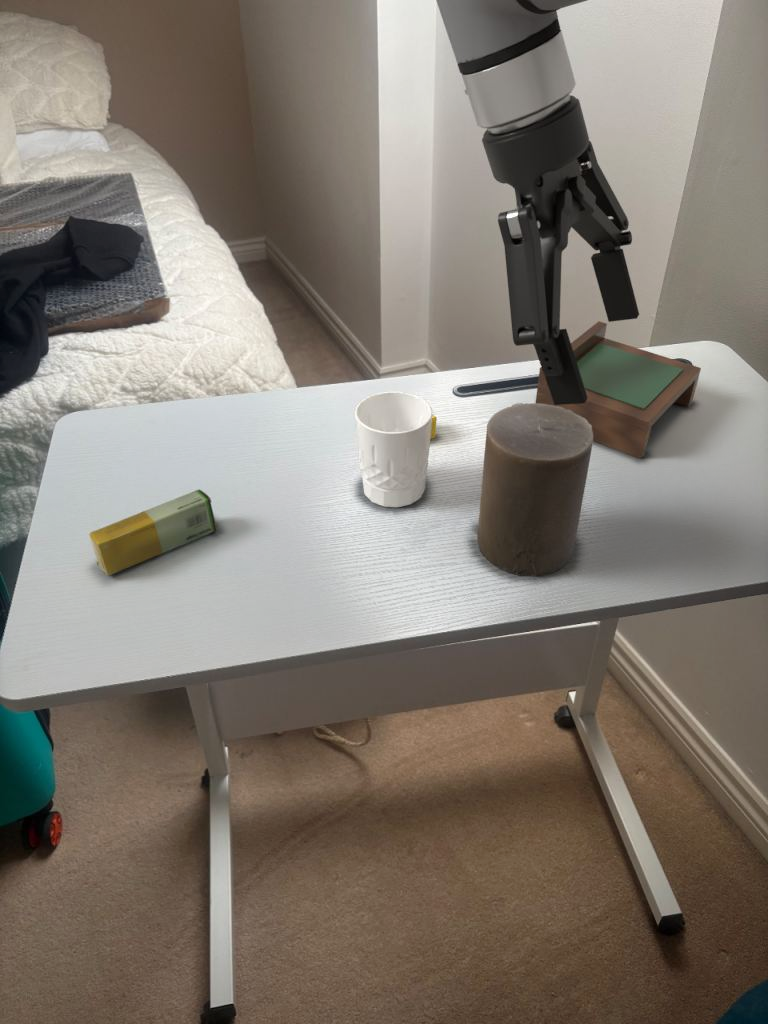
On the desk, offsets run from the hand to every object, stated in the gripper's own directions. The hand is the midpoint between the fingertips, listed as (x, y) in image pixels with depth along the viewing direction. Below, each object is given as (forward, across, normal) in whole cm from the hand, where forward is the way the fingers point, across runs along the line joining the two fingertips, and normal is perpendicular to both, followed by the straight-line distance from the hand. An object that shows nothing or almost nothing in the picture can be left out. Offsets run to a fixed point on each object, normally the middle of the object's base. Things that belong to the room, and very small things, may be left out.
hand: (598, 358), depth 73 cm
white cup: (+11, +5, -25) cm, 28 cm away
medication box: (+3, +25, -39) cm, 46 cm away
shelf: (+20, -21, -11) cm, 31 cm away
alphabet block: (+11, -5, -28) cm, 30 cm away
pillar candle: (+17, +7, -10) cm, 21 cm away
